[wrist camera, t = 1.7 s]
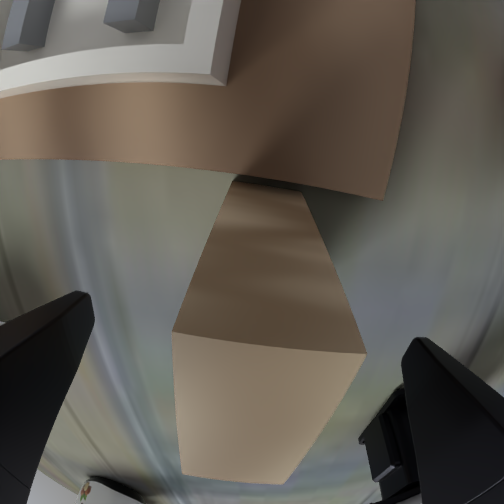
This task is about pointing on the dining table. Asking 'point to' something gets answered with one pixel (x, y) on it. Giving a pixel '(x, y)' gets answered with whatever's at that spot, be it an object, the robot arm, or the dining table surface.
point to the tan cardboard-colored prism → (260, 341)
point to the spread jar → (107, 493)
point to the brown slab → (249, 103)
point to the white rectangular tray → (114, 42)
